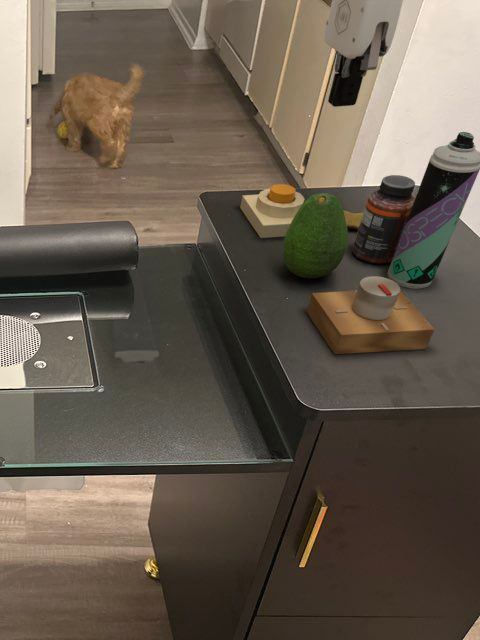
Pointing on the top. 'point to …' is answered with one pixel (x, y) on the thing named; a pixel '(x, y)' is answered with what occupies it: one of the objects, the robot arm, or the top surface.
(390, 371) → the top surface
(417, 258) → the spray can
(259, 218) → the button box
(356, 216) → the tan elongated lumpy piece
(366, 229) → the supplement bottle
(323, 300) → the dial panel
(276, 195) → the button
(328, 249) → the fruit
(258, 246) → the top surface
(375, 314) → the knob
